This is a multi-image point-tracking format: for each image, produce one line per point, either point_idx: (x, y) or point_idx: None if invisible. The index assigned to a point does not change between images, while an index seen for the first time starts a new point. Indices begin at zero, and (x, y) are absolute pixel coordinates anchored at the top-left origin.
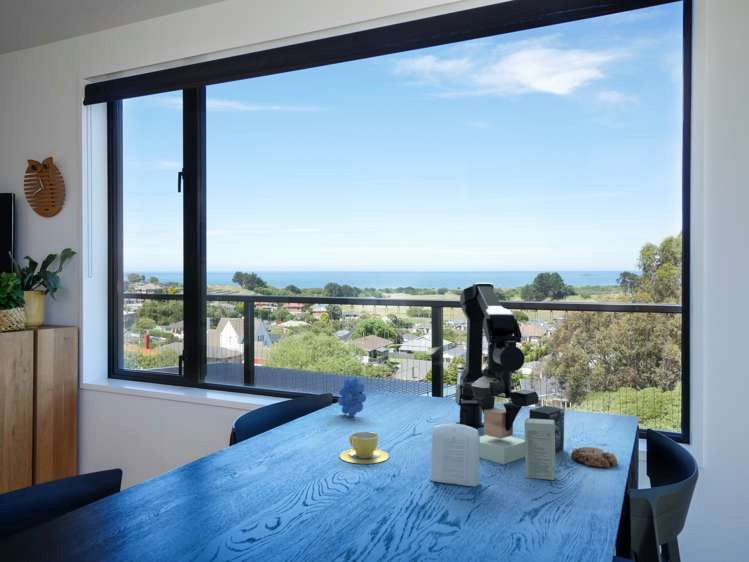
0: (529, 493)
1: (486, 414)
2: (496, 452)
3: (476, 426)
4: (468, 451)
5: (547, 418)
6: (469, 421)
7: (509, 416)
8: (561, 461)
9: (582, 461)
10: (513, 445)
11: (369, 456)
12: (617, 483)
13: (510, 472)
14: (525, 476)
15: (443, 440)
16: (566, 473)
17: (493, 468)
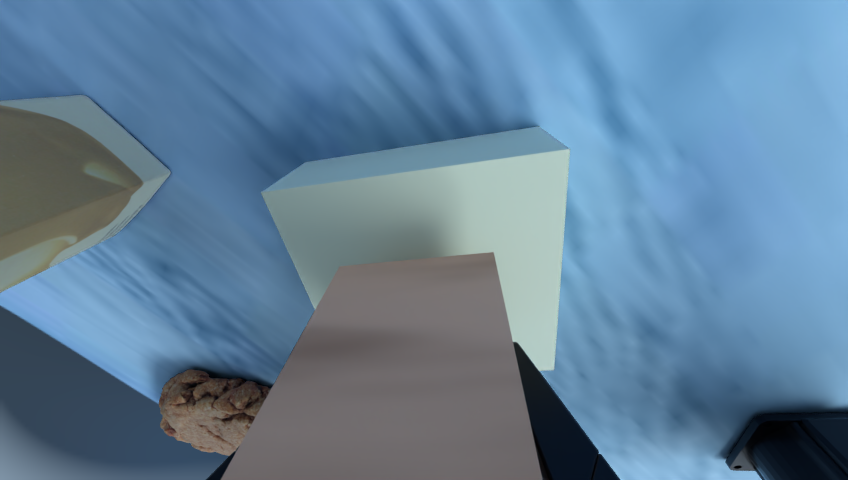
0: None
1: (483, 421)
2: (330, 171)
3: (752, 433)
4: None
5: None
6: (809, 446)
7: (209, 477)
8: (262, 352)
9: (210, 379)
10: (302, 282)
11: None
12: (26, 316)
13: (175, 87)
14: (82, 95)
15: None
16: (133, 277)
17: (261, 51)
